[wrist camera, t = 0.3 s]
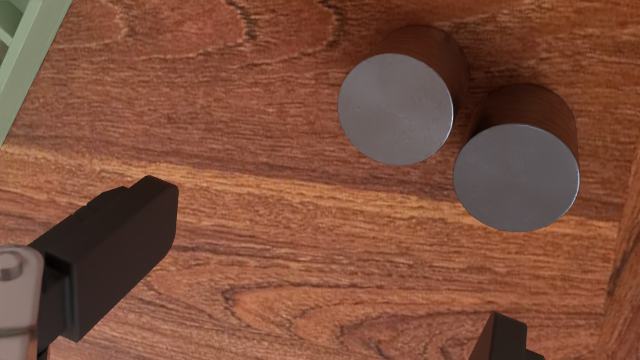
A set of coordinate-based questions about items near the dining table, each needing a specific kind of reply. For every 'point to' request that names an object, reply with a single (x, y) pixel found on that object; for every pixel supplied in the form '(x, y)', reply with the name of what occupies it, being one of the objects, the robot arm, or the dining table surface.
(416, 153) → the grey tin
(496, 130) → the grey tin
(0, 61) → the cream bottle
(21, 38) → the rack
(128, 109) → the dining table surface
